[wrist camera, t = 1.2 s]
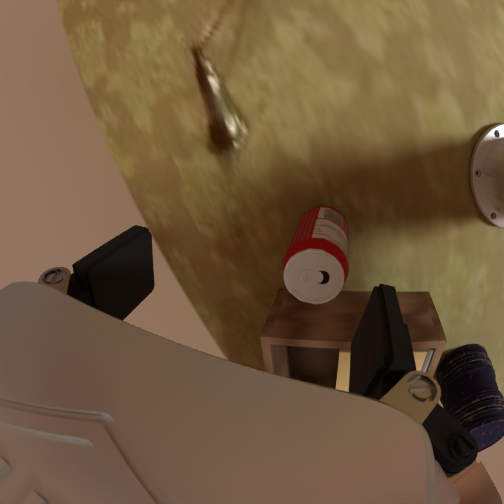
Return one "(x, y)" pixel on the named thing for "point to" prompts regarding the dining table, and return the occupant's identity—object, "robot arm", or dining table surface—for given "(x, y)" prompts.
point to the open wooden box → (336, 333)
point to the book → (343, 372)
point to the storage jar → (472, 393)
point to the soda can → (317, 256)
